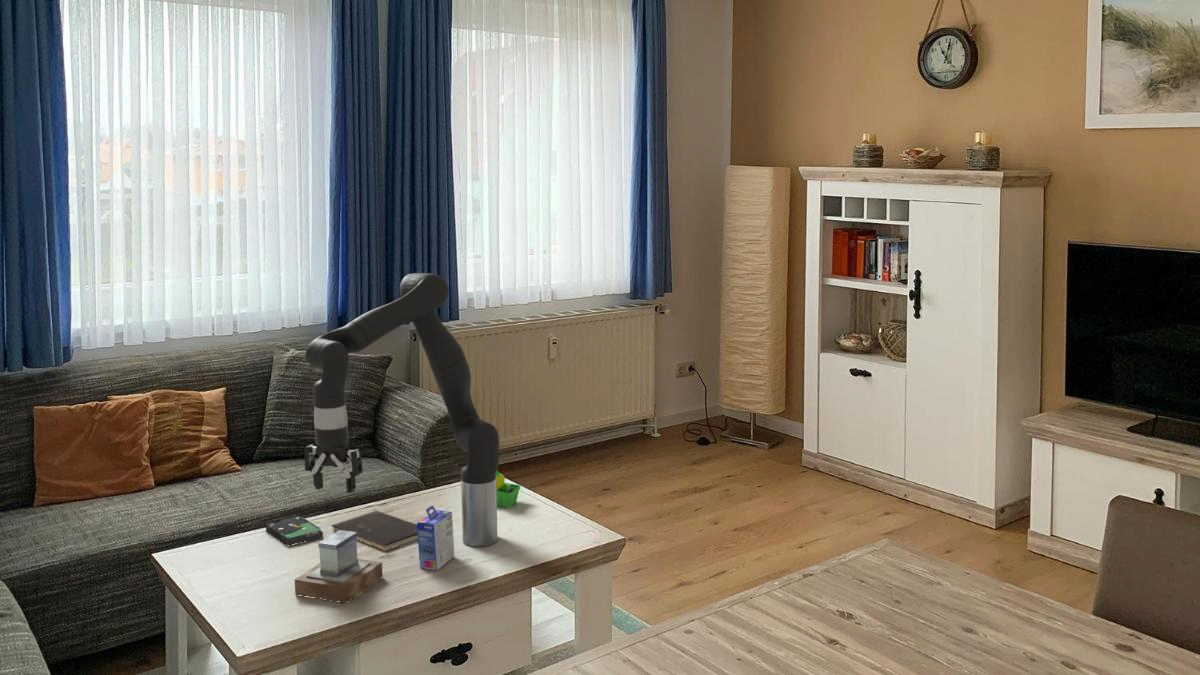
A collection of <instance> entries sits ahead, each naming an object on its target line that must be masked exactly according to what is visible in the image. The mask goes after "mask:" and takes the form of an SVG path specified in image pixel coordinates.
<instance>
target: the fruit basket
mask: <svg viewBox="0 0 1200 675" xmlns="http://www.w3.org/2000/svg"><path fill="white" fill-rule="evenodd" d="M505 480H506V478H505V476H504V474H502V473H500V472H499V471H498V470H497V472H496V500H497V507H502V508H503V507H504V508H510V507H511V506H512V505H514V504H515V503H517V501H518V496H519V492H520V490H521V487H522V485H520V484H513V483H509V482H505Z"/></svg>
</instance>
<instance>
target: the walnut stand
mask: <svg viewBox="0 0 1200 675" xmlns="http://www.w3.org/2000/svg"><path fill="white" fill-rule="evenodd" d="M357 559H358V564H357V565H355V566H354V567H353V568H351V569H350V570H348V571H347V572H345V573H344V574H342V575H341V576H339V577H338V578H337V577H330V576H324V575H320V570H321V567H320V563H318V564H317V565H315V566H313V567H312V568H310V569H309V570H307V571H305V572H304V573H302V574H301V575H300V576H298V577H296V578H294V594H295V595H302V596H309V597H315V598H322V599H326V600H325V601H327V600H332V601H331V602H333V601H340V602H344V603H343V604H345V603H347V602H348V601H350V600H351V599H353V598H354V597H355V596H357V595H358V594H359V595H361V594H362V593H364V592H365V591H366V590H367V588H368V587H369V586H370V587H371V585H372V584H373V585H375V584H376V583H377V582H378V581H377V580H379V579H380V578H381V577H384V575H383V562H382V561H376V560H368V559H362V558H357ZM381 579H382V578H381ZM381 579H380V580H381ZM380 580H379V581H380ZM376 581H377V582H376ZM375 582H376V583H375ZM373 585H372V586H373ZM370 587H369V588H370ZM369 588H368V589H369ZM365 589H366V590H365ZM364 590H365V591H364ZM363 591H364V592H363ZM361 592H362V593H361ZM360 593H361V594H360ZM359 595H358V596H359ZM358 596H357V597H358ZM355 598H356V597H355ZM355 598H354V599H355ZM354 599H353V600H354ZM351 601H352V600H351ZM351 601H350V602H351ZM347 604H348V603H347Z"/></svg>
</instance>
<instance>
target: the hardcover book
mask: <svg viewBox="0 0 1200 675" xmlns="http://www.w3.org/2000/svg"><path fill="white" fill-rule="evenodd" d="M331 527H332V528H333V532H335V531H336V532H337V531H339V530H344V531H351V532H357V537H356V539H358V540H361V541H363V542H366V543H369V544H371V545H373V546H376V547H378V548H381V549H384V550H386V549H389V548H392V547H394V546H397V545H400V546H402V545H401V544H403V545H405V544H404V543H406V544H408V543H407V542H409V541H411V542H413V541H412V540H414V541H416V540H415V539H417V540H418V533H417V523H414V522H410V521H408V520H404V519H401V518H399V517H396V516H393V515H390V514H389V513H385V512H381V511H379V510H375V511H372V512H368V513H365V514H362V515H359V516H356V517H352V518H350V519H346V520H344V521H341V522H340V521H339V522H337V523H334V524H332V525H331ZM336 532H335V533H336ZM358 540H357V541H358ZM361 541H360V542H361ZM363 542H362V543H363ZM366 543H365V544H366ZM409 543H410V542H409ZM371 545H370V546H371ZM373 546H372V547H373ZM376 547H375V548H376ZM397 547H398V546H397ZM378 548H377V549H378ZM381 549H380V550H381ZM392 549H393V548H392ZM384 550H383V551H384ZM389 550H390V549H389ZM386 551H387V550H386Z"/></svg>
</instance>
